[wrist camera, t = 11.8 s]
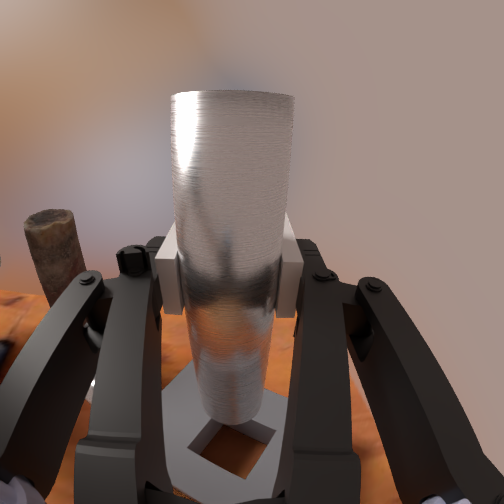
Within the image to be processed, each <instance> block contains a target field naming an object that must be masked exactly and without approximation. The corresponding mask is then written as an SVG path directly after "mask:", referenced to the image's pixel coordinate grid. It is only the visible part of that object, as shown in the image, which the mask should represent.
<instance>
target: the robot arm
mask: <svg viewBox="0 0 504 504" xmlns="http://www.w3.org/2000/svg"><path fill="white" fill-rule="evenodd" d="M116 257H117V261H118V266H119V270H120V275H119V277H117V278H112V279H106V280H103V278H102V275H101V273H100V272H98V271H94V270H92V271H90V270H89V271H85V272H82V273H81V274H79V275H78V276H76V277H75V278H74V279H73V281H72V282H71V283H70V284H69V286H68V287H67V288H66V289H65V290H64V292H63V293H62V294H61V296H60V297H59V298H58V299H57V301H56V302H55V303H54V305H53V306H52V307H51V309H50V310H49V311H48V313H47V314H46V315H45V317H44V318H43V319H42V321H41V322H40V324H39V325H38V326H37V328H36V329H35V331H34V332H33V334H32V335H31V336H30V338H29V339H28V341H27V342H26V344H25V345H24V347H23V348H22V350H21V352H20V353H19V355H18V356H17V358H16V360H15V361H14V363H13V364H12V366H11V368H10V369H9V371H8V373H7V375H6V376H5V378H4V380H3V382H2V383H1V385H0V504H47V503H45V499H46V498H47V496H48V495H49V493H50V491H51V489H52V487H53V485H54V483H55V480H56V478H57V475H58V472H59V469H60V466H61V463H62V459H63V456H64V453H65V450H66V447H67V445H68V442H69V439H70V436H71V433H72V431H73V428H74V425H75V423H76V420H77V417H78V415H79V412H80V410H81V407H82V405H83V402H84V400H85V398H86V395H87V393H88V390H89V388H90V386H91V383H92V381H93V379H94V377H95V382H94V389H93V396H92V403H91V411H90V420H89V430H88V435H87V436H86V437H85V438H83V439H80V440H79V442H78V443H77V446H76V451H75V465H74V504H200V503H197V502H194V501H191V500H188V499H185V498H183V497H180V496H177V495H174V494H173V488H172V483H171V479H170V477H169V474H168V470H167V465H166V456H165V444H164V431H163V415H162V389H161V332H162V319H161V314H160V310H161V308H162V305H163V308H164V313H165V314H175V315H182V312H183V308H184V300H183V292H182V285H181V276H180V268H179V258H178V248H177V238H176V226H175V222H174V224H173V225H172V227H171V229H170V231H169V233H168V234H167V236H166V237H161V236H156V237H154V238H153V239H151V240H150V241H149V242H148V243H147V245H146V246H143V245H131V246H127V247H124V248H122V249H121V250H119V251H118V252H117V254H116ZM0 266H1V257H0ZM296 310H297V315H298V316H297V321H296V326H295V330H294V335H293V337H295V339H294V350H293V360H292V370H291V379H290V388H289V396H288V404H287V412H286V420H285V427H284V434H283V441H282V448H281V454H280V460H279V466H278V472H277V477H276V480H275V484H274V488H273V492H272V497H271V498H265V499H255V500H251V501H246V502H242V503H236V504H360V488H361V464H360V459H359V456H358V455H357V454H356V453H355V452H353V449H352V420H351V395H350V378H349V364H348V352H347V348H348V350H349V353H350V355H351V358H352V360H353V363H354V366H355V368H356V371H357V373H358V376H359V379H360V381H361V384H362V387H363V389H364V392H365V395H366V398H367V400H368V403H369V406H370V409H371V412H372V414H373V417H374V420H375V423H376V426H377V429H378V432H379V435H380V438H381V441H382V444H383V447H384V450H385V453H386V456H387V459H388V463H389V466H390V469H391V472H392V476H393V479H394V482H395V486H396V489H397V491H398V494H399V497H400V499H401V501H402V503H403V504H504V477H503V475H502V474H501V473H500V472H499V471H498V469H497V468H496V467H495V466H494V465H493V464H492V463H491V461H490V460H489V459H488V458H487V457H486V456H485V455H484V453H483V451H482V449H481V446H480V444H479V442H478V439H477V437H476V435H475V433H474V431H473V428H472V426H471V424H470V422H469V420H468V418H467V416H466V414H465V412H464V410H463V408H462V406H461V404H460V402H459V400H458V398H457V396H456V394H455V392H454V390H453V388H452V387H451V385H450V383H449V381H448V379H447V377H446V376H445V374H444V372H443V370H442V369H441V367H440V365H439V364H438V362H437V360H436V358H435V357H434V355H433V353H432V352H431V350H430V348H429V347H428V345H427V343H426V342H425V340H424V339H423V337H422V336H421V334H420V332H419V331H418V329H417V328H416V326H415V325H414V323H413V322H412V320H411V318H410V317H409V315H408V314H407V312H406V311H405V310H404V308H403V307H402V305H401V304H400V302H399V301H398V300H397V298H396V296H395V295H394V294H393V292H392V291H391V289H390V288H389V287H388V285H387V284H386V283H385V282H383V281H381V280H380V279H378V278H375V277H364V278H362V279H360V280H359V282H358V285H357V286H356V285H351V284H346V283H342V282H340V281H339V278H338V276H337V274H335V273H334V272H333V271H331V270H329V269H327V268H326V265H325V263H324V261H323V259H322V257H321V255H320V252H319V251H318V248H317V246H316V244H315V243H313V242H312V241H311V240H310V239H296V238H295V236H294V233H293V230H292V227H291V225H290V222H289V219H288V216H287V214H286V212H285V223H284V233H283V242H282V252H281V260H280V269H279V278H278V287H277V295H276V303H275V311H276V318H294V316H295V311H296ZM85 319H86V321H87V322H86V324H85V325H84V326H83V323H84V320H85ZM95 374H96V376H95Z"/></svg>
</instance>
